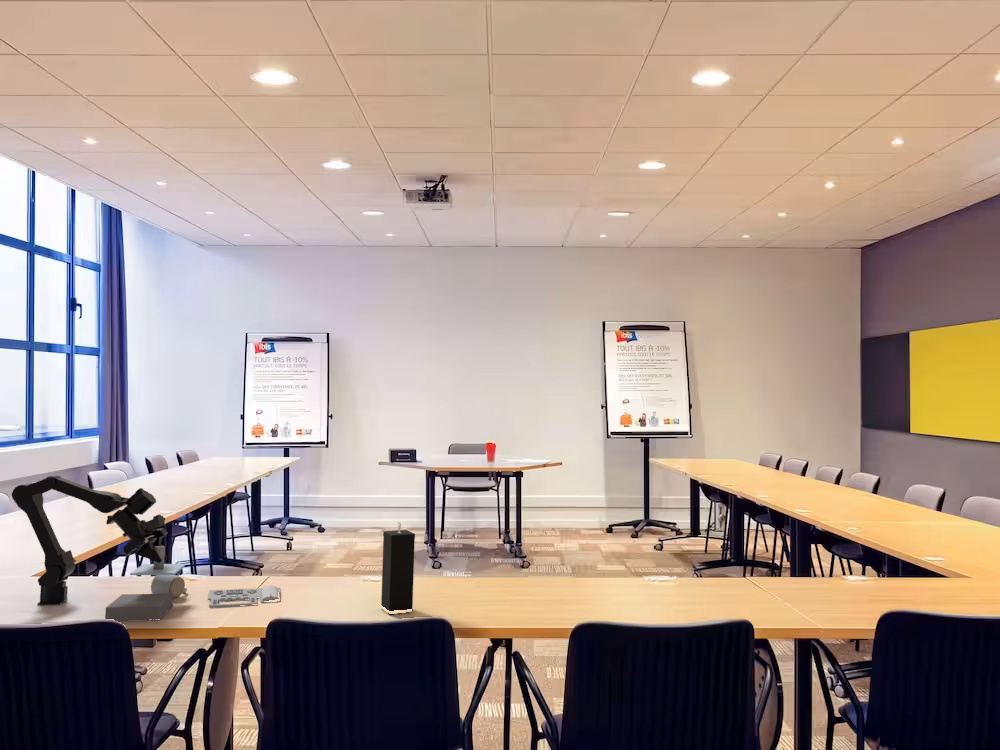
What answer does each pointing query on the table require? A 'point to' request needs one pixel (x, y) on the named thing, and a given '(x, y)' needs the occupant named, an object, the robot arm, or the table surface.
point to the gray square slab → (139, 607)
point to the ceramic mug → (168, 585)
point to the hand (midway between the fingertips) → (163, 560)
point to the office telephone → (242, 595)
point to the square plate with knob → (158, 566)
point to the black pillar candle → (398, 569)
